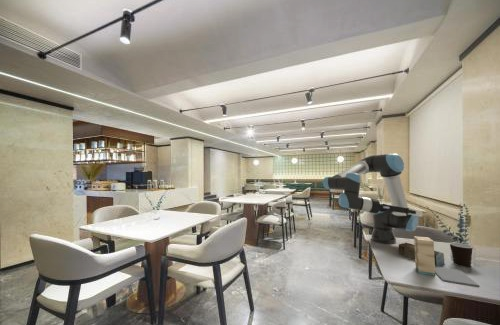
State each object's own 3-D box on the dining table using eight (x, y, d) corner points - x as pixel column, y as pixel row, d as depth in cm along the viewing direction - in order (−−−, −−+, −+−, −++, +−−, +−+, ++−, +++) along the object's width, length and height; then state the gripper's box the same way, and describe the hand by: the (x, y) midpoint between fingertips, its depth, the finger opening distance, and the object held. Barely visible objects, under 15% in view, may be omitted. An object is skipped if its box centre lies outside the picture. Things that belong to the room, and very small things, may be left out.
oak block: (415, 268, 106) (414, 236, 107) (430, 270, 103) (428, 237, 105) (419, 273, 100) (417, 239, 102) (435, 275, 98) (433, 241, 99)
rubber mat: (429, 266, 108) (429, 265, 108) (460, 271, 103) (460, 269, 103) (442, 281, 93) (442, 279, 93) (479, 286, 88) (479, 285, 88)
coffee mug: (469, 269, 105) (467, 248, 106) (447, 262, 113) (446, 243, 113) (480, 265, 110) (478, 245, 110) (458, 259, 117) (457, 241, 118)
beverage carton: (436, 267, 108) (436, 254, 108) (397, 254, 125) (397, 243, 126) (445, 264, 111) (444, 251, 112) (406, 252, 129) (405, 241, 129)
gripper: (360, 211, 124) (400, 219, 119) (379, 212, 99) (429, 222, 95) (361, 199, 125) (401, 206, 121) (380, 197, 101) (430, 206, 97)
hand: (413, 213), depth 108 cm, fingers open, 13 cm apart
